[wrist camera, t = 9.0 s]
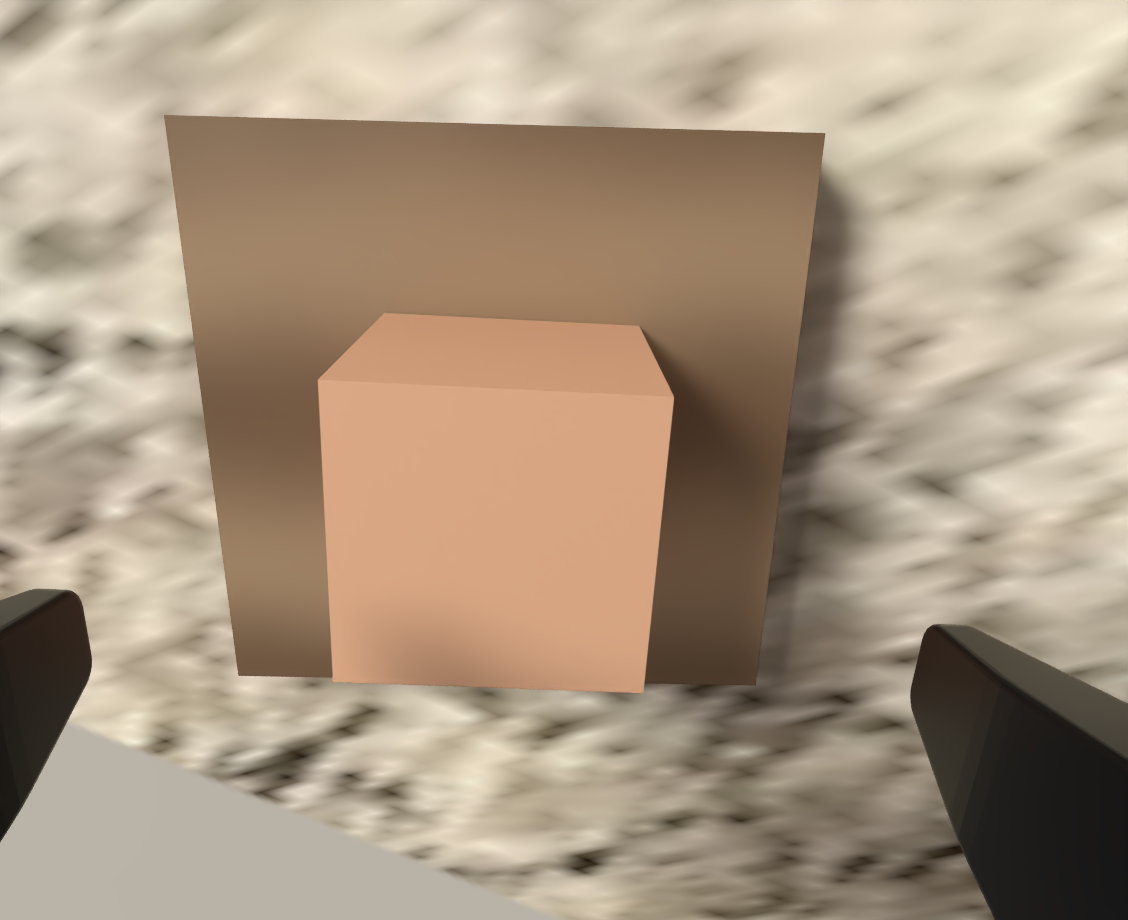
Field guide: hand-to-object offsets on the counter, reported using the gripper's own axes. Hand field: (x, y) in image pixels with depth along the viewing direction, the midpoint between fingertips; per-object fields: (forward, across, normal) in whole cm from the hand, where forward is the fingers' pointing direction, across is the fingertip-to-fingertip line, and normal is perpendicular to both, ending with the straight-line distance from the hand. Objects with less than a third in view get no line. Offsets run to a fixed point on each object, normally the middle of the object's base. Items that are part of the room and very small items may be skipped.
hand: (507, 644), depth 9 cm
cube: (+9, 0, +1) cm, 9 cm away
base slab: (+12, +1, +1) cm, 12 cm away
